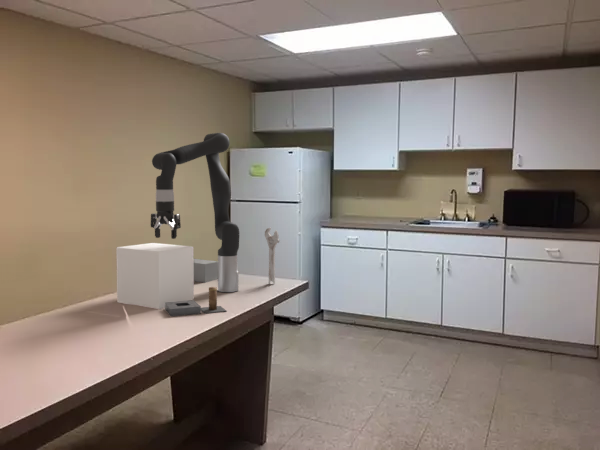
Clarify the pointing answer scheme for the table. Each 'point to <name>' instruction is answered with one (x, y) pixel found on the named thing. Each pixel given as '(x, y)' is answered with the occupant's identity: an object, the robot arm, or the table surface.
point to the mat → (206, 309)
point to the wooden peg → (212, 298)
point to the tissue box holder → (205, 270)
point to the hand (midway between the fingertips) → (165, 238)
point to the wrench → (272, 252)
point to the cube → (154, 274)
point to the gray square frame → (182, 308)
